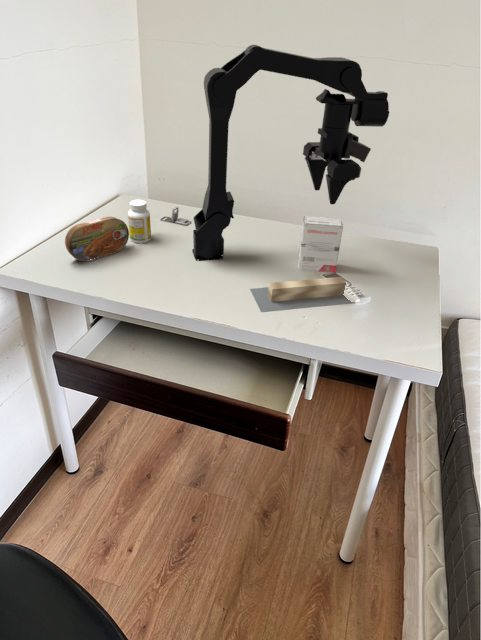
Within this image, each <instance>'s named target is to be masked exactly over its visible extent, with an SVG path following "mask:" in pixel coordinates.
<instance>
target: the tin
mask: <svg viewBox="0 0 481 640" xmlns="http://www.w3.org/2000/svg"><path fill="white" fill-rule="evenodd" d="M129 239H130V233H129V226H128V225H127V223H125V221H124V220H122V219H120V218H117V217H115V216H105V217H101V218H97V219H93V220H90V221H86V222H82V223H78V224H76V225H74V226H72V227H71V228H70V229H69V230H68V231H67V232H66V235H65V238H64V244H65V248H66V250H67V252H68V253H69V254H70V255H71V256H72V257H73V258H74V259H75V260H77V261H80V262H88V261H87V260H90V259H93V260H95V259H94V258H96V259H98V258H97V257H99V258H101V256H102V257H105V255H106V256H108V255H109V256H110V255H111V254H115V252H116V253H119V252H120V251H122V250H123V248H125V247H126V245H127V244H128V242H129ZM90 261H91V260H90Z"/></svg>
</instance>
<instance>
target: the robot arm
mask: <svg viewBox="0 0 481 640" xmlns="http://www.w3.org/2000/svg"><path fill="white" fill-rule="evenodd" d="M259 71H266V72H270V73H275V74H281V75H286V76H291V77H296V78H301V79H306V80H311V81H315V82H317V83H320V84H322V85H323V86H327V87H328V88H331V89H333V90H336V91H339V92H341V93H331V92H330V90H329V89H327V88H325V89H323V91H322V92H321V93H320V94H318V95H317V96H316V97H315V100H316V102H318V103H321V104H324V110H323V116H322V117H323V118H322V125H321V127H318V128H317V134H318V135H320V139H319V141H311V142H309V141H308V142H306V144H304V146H303V152H302V155H303V156H304V160H305V162H306V166H307V167H308V172H309V174H310V177H311V178H310V179H311V181H312V184H313V185H312V186H313V189H314V190H315V191H320V189H321V186H322V184H323V179H324V175H325V177H326V178H325V180H326V186H327V193H328V194H327V195H328V200H329V204H330V205H335V204H336V203H337V201H338V199H339V197H340V195H341V193H342V192H343V190H344V188H345V186H346V185H347V184H348V183H349V182H351V181H355V179H359V178H361V177H360V176H361V173H362V167H361V165H360V164H359V163H357V162H356V161H354V160H353V159H351V157H352V158H355V159H357V160H359V161H360V162H362V163H365V161H366V159H367V158H368V155H370V154H369V153H370V152H371V150H372V148H371V147H369V146H367V145H366V144H363V143H361V142H359V136H357V135H355V134H354V133H352V132H350V131H349V130H350V124H351V121H352V122H353V123H354V125H355V126H356V127H384V126H385V125H386V123H387V121H388V119H389V115H390V108H389V100H388V96H389V93H388V92H386V91H384V90H383V91H367V88H366V86H365V84H364V83H363V80H362V77H363V70H362V67H361V65H360V63H358V62H357V61H355V60H351V59H349V58H346V57H336V56H335V57H333V56H332V57H330V56H328V57H310V56H305V55H300V54H295V53H291V52H286V51H280V50H275V49H272V48H271V49H270V48H265V47H262V46H259V45H258V44H250V45H248V46H247V47H246V48H245V50H243V51H242V52H241V53H239V54H238V55H236V56H235V57H234V58H232V59H230V60H229V61H227V62H226V63H225V64H224V65H223V66H221V67H215V68H214V67H213V68H212V69H211V70H208V72H207V73H206V74H205V76H204V79H203V89H204V96H205V103H206V108H207V112H208V113H207V114H208V119H209V120H208V121H209V123H208V176H207V177H208V181H207V182H208V183H207V188H206V190H205V193H204V197H203V198H204V199H203V203H202V208H201V209H200V211H198V212H197V213H196V214H195V216H193V222H194V227H195V228H194V229H193V231H192V232H193V233H192V235H193V237H192V239H193V248H192V251H191V252H192V254H193V258H194V259H195V261H196V262H207V261H216V260H217V261H220V260H224V255H225V251H224V250H225V248H224V247H225V239H224V237H223V232H224V230H226V228H227V227H229V226H230V224H231V222H232V221H231V220H232V219H234V218H235V217H234V214H233V209H234V206H235V199H234V197H233V195H232V193H231V191H227V177H228V175H227V173H228V172H227V171H228V150H229V149H228V148H229V147H228V146H229V144H228V143H229V124H230V119H231V116H232V113H233V110H234V106H235V101H236V96H237V91H238V90H240V89H241V88H242V87H244V86H245V84H247V82H249V81H250V80H251V79H252V77H254V75H256V73H258V72H259ZM345 94H347V95H349V96H352V97H353V98H346V95H345ZM325 171H326V172H327V173H326V172H325ZM325 173H326V174H325Z"/></svg>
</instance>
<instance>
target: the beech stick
mask: <svg viewBox="0 0 481 640" xmlns="http://www.w3.org/2000/svg"><path fill="white" fill-rule="evenodd" d="M345 281H346V280H345V279H343V278H342V276H336V277H326V278H325V277H324V278H312V279H300V280H288V281H279V282H268V286H267V287H268V297H269V299H270V301H271V302H275V301H286V300H296V299H307V298H318V297H328V296H339V295H343V294H344V290H345V285H346V282H347V281H346V282H345Z"/></svg>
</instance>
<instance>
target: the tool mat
mask: <svg viewBox="0 0 481 640" xmlns="http://www.w3.org/2000/svg"><path fill="white" fill-rule="evenodd" d="M249 290H250V292H251V294H252V296H253V299H254V300H255V302H256V304H257V306H258V308H259V312H260V313H267V312H276V311H289V310H298V309H308V308H316V307H327V306H337V305H339V306H340V305H345V304H346V305H348V304H355V303H354V302H351V301H350V300H348V299H347V298H346V297H345V296H344V295H339V296H328V297H318V298H307V299H296V300H286V301H275V302H271V301H270V299H269V297H268V286H267V287H257V288H256V287H255V288H249Z"/></svg>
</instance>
